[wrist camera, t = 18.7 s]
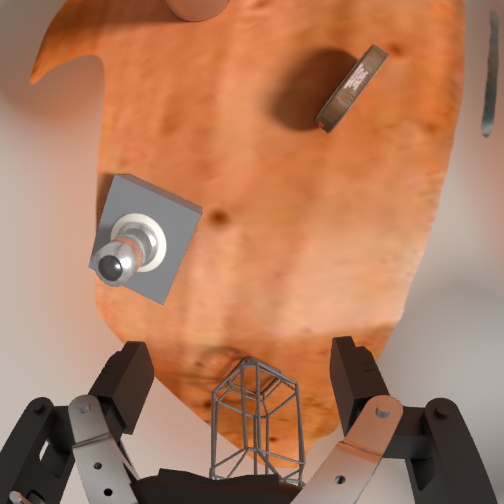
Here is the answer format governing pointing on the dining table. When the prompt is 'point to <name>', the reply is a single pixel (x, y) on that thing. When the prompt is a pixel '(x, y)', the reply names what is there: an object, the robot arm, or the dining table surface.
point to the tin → (351, 88)
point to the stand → (162, 223)
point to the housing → (126, 253)
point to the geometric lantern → (257, 450)
